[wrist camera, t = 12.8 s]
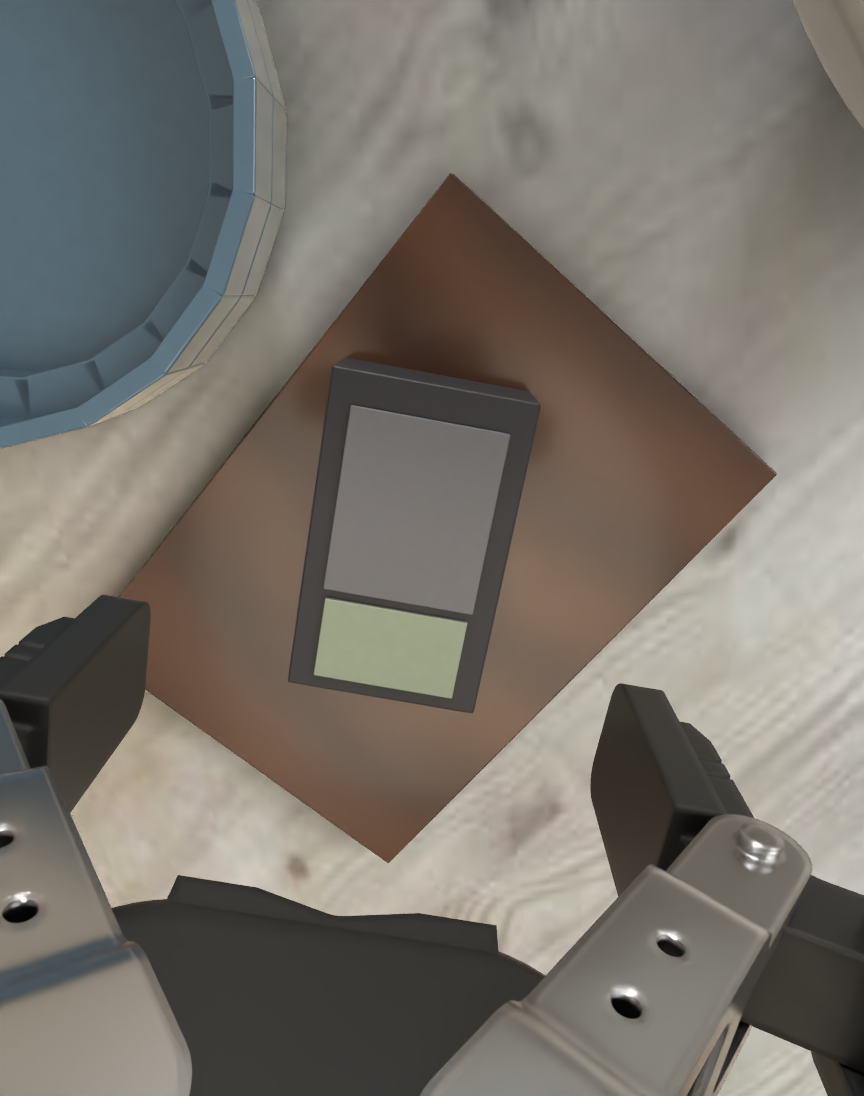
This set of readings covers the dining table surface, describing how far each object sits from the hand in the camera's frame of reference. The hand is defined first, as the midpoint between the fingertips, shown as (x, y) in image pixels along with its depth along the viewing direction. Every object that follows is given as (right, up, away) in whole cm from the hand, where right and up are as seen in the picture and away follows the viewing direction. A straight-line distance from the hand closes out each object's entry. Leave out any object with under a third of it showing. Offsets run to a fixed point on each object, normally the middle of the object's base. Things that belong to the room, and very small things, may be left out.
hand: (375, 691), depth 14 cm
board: (0, +2, +15) cm, 15 cm away
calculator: (0, +3, +13) cm, 14 cm away
